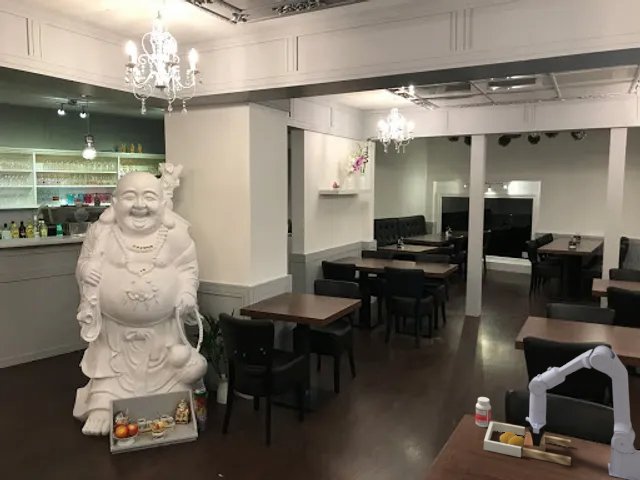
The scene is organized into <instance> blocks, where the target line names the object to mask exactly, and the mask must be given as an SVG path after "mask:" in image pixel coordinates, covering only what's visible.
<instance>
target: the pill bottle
mask: <svg viewBox="0 0 640 480" xmlns="http://www.w3.org/2000/svg"><path fill="white" fill-rule="evenodd" d="M490 421H492V406H491V404H490V399H489V398H488V397H485V396H480V397H478V398H477V403H476V404H475V425H476V426H478V427H480V428H488V427H489V424H490Z"/></svg>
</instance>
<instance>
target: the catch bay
mask: <svg viewBox="0 0 640 480" xmlns="http://www.w3.org/2000/svg"><path fill="white" fill-rule="evenodd" d="M497 431H498V433H502V432H512V433H514V434H517V435H523V436H524V435H525V434H526V428H525V426H521V425H515V424H510V423H503V422H499V421H494V420H491V421H490V424H489V427H487V430H486V433H485V437H484V440H483V450H484V451H487V452H489V451H490V452H494V453H498V454H503V455H508V456H513V457H516V458H517V457H518V458H521V457H522V449H521V447H519V446H515V445H510V444H505V443H502V442H501V441H500V442H498V441H494V440H491V438H492V436H493V432H497ZM517 435H516V436H517ZM523 436H522V437H523ZM524 437H525V436H524Z"/></svg>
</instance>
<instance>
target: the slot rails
mask: <svg viewBox="0 0 640 480" xmlns="http://www.w3.org/2000/svg"><path fill="white" fill-rule="evenodd" d="M526 434H530V432H529V431H525V435H526ZM545 442H548V443H552V444H551V445H553V444H557V445H556V446H558V445H562V446H561V447H563V446H567V447H566V448H568V447H570V448H571V443H572V442H571V439H567V438H561V437H559V436H558V437H556V436H551V435H546V434H545ZM548 443H547V444H548ZM522 457H527V458H531V459H532V458H533V459H537V460H542V461H547V462H550V463H557V464H560V465H565V466H571V459H572V458H571V456H567V455H564V454H557V453H552V452H546V451H538V450H533V449H528V448H524V447H523V448H522Z"/></svg>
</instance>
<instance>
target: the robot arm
mask: <svg viewBox="0 0 640 480" xmlns="http://www.w3.org/2000/svg"><path fill="white" fill-rule="evenodd" d="M582 368H587V369H592V368H593V369H595V370H597V371H599V372H602V373H604V374H606V375H607V376H608V377H610V378H611V380H612V381H611V383H612V402H613V404H612V405H613V419H614V420H613V421H614V424H613V436H612V438H611V441H610V442H611V443H610V459H609V463H607V469H608V475H609V476H612V477H616V478H620V479H625V480H640V450H637V449H636V447H635V446H634V441H635V439H636V433H635V431H634V429H633V427H632V422H631V409H630V393H629V375H628V374H629V373H628V370H627V369H626V367H625V365H624V364H623V363H622V361H621V360H620V358H619V357H618V355H617V353H616V351H614V350H612V349H611V348H609V347H608V346H606V345H598V346H596V347H595V348H594V349H593V348H592V349H588V350H587V351H586V352H583V353H581V354H580V355H578V356H576V357H575V358H574V359H572V360H570V361H569V362H567V363H566V364H564V365H563V366H561V367H558V366H557V367H556V366H553V367H552V366H549V367H548V368H546V369H547V370H546V371H545V372H542V374H540V373H539V374H537V376H534V377H533V378H532V379H531V381H529V384H528V389H529V394H530V395H529V413H528V414H529V415H528V416H529V417H528V416H526V417H525V421H526V422H529V424H530V426H528V428H527V429H528V432H530V434H531V437H532V442H533V446H538V447H539V446H540V442H541V438H542V436H543V434H545V433H546V430H545V429H544V428H545V427H546V425H547V420H546V419H547V417H546V416H547V415H546V414H547V390H551V389H553V388H554V387H555V386H558V385H559V384H562V383H563V382H565V380H566V376H568V375H570V374H572V373H573V372H576V371H578V370H580V369H582Z"/></svg>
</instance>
